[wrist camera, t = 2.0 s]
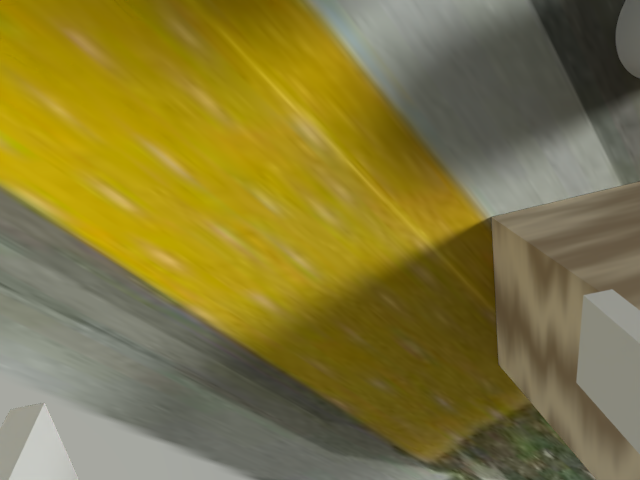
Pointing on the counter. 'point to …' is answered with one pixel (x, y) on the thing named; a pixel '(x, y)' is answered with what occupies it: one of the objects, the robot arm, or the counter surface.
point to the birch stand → (566, 310)
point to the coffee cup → (629, 37)
